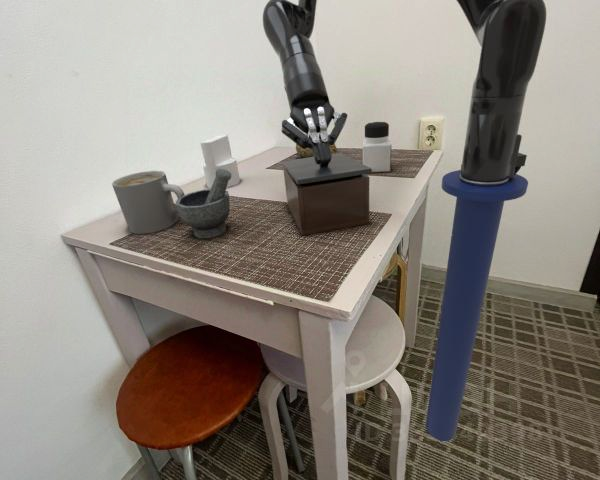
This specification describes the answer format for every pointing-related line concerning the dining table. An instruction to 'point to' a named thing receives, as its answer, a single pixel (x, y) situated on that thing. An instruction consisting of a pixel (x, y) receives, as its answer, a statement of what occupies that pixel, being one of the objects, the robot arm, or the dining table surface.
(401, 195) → the dining table surface
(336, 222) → the open box
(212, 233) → the mortar and pestle
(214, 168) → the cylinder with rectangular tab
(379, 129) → the medicine bottle
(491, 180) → the robot arm
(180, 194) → the coffee mug
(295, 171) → the dark grey box lid
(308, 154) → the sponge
